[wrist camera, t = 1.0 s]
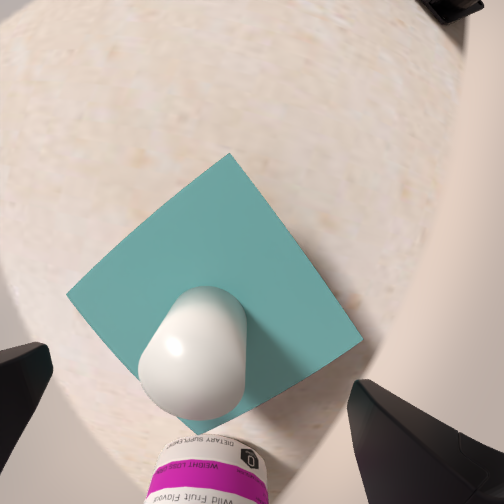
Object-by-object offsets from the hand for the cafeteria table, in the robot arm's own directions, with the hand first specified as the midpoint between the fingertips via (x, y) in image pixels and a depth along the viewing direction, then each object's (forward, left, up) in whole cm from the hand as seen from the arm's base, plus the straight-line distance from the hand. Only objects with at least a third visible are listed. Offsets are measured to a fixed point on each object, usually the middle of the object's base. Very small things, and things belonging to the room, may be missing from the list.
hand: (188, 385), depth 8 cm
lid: (0, 0, -5) cm, 5 cm away
